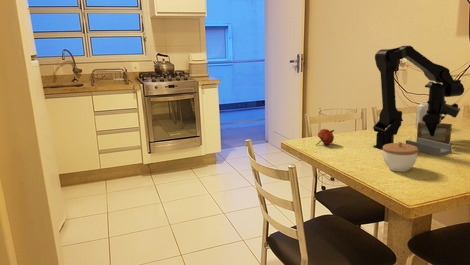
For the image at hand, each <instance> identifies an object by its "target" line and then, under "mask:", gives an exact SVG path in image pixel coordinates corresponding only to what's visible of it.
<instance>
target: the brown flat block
mask: <svg viewBox="0 0 470 265" xmlns="http://www.w3.org/2000/svg"><path fill="white" fill-rule="evenodd" d="M452 125H453V124H452V123H442V122H440V123H439V124H438V125H437V127H436V131H435V134H434V136H430V133H429V131H428V128H427V126H426V124H425V122H419V123H418V129H416V130H417V132H416V139H417V138H423V139H427V140H432V141H436V142H441V143H446V144H449V143H451V139H452V138H451V135H452V127H453V126H452Z"/></svg>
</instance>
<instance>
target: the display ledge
mask: <svg viewBox="0 0 470 265" xmlns="http://www.w3.org/2000/svg"><path fill="white" fill-rule="evenodd" d="M405 144H410V145H414V146H416V147H417V148H418V152H421V153H426V154H429V155H434V156H436V157H437V156H438V157H439V156H444V155H446V154H450V153H452V149H453V148H452V144H446V143H441V142H436V141H432V140H427V139H423V138H417V137H416V141H415V140H409V139H406V140H405Z"/></svg>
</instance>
